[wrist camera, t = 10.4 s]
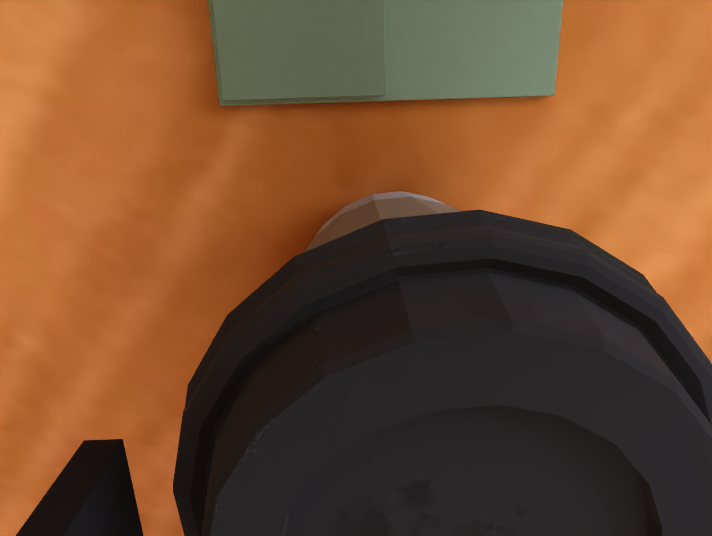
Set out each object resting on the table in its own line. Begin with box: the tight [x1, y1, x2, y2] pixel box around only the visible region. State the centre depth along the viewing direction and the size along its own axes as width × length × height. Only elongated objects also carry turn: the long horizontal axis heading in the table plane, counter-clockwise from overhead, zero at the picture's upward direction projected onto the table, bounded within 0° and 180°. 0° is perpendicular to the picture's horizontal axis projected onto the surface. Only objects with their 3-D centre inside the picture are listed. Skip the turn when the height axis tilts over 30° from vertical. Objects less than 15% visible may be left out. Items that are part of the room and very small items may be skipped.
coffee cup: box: [173, 191, 712, 536], centre depth 16 cm, size 11×11×15 cm
